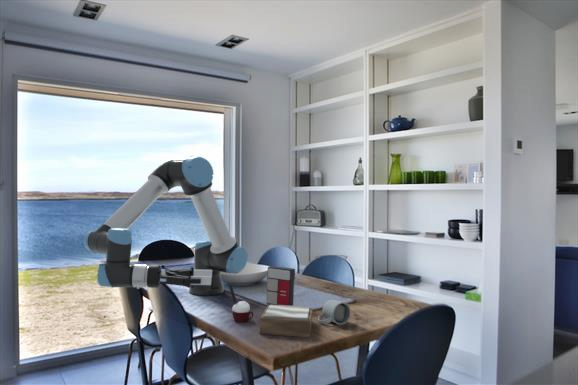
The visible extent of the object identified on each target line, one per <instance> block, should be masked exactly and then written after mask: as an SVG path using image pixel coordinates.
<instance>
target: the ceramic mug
mask: <svg viewBox="0 0 578 385" xmlns="http://www.w3.org/2000/svg"><path fill="white" fill-rule="evenodd" d="M321 310H322V313H321V314H319V315H318V317H317V320H318V323H319V324H320V325H328V324H330V323H331V322H332V323H334V324H336V325H337V326H341V325H345V324H346V323H348V321H349V320H350V318H351V307H350V306H349V304H348V303H347V302H344V301H340V300H335V299H329V300H327V301H325V302H324V304H323V306H322V309H321ZM324 318H325V319H324ZM322 319H323V320H322Z"/></svg>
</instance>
